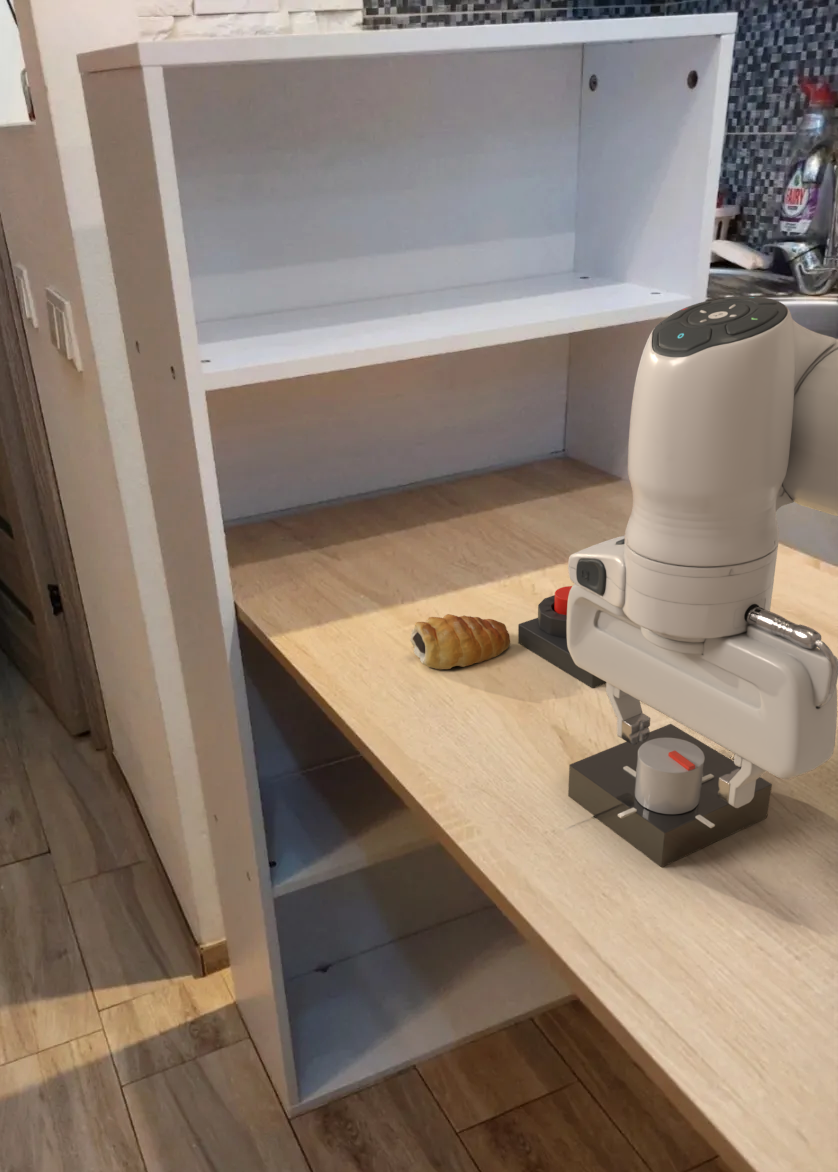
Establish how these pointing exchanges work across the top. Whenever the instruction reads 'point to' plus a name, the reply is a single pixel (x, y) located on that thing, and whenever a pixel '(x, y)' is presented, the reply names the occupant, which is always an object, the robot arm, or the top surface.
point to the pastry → (458, 640)
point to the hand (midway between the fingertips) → (681, 767)
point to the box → (553, 641)
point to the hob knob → (669, 775)
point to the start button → (561, 600)
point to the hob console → (661, 837)
